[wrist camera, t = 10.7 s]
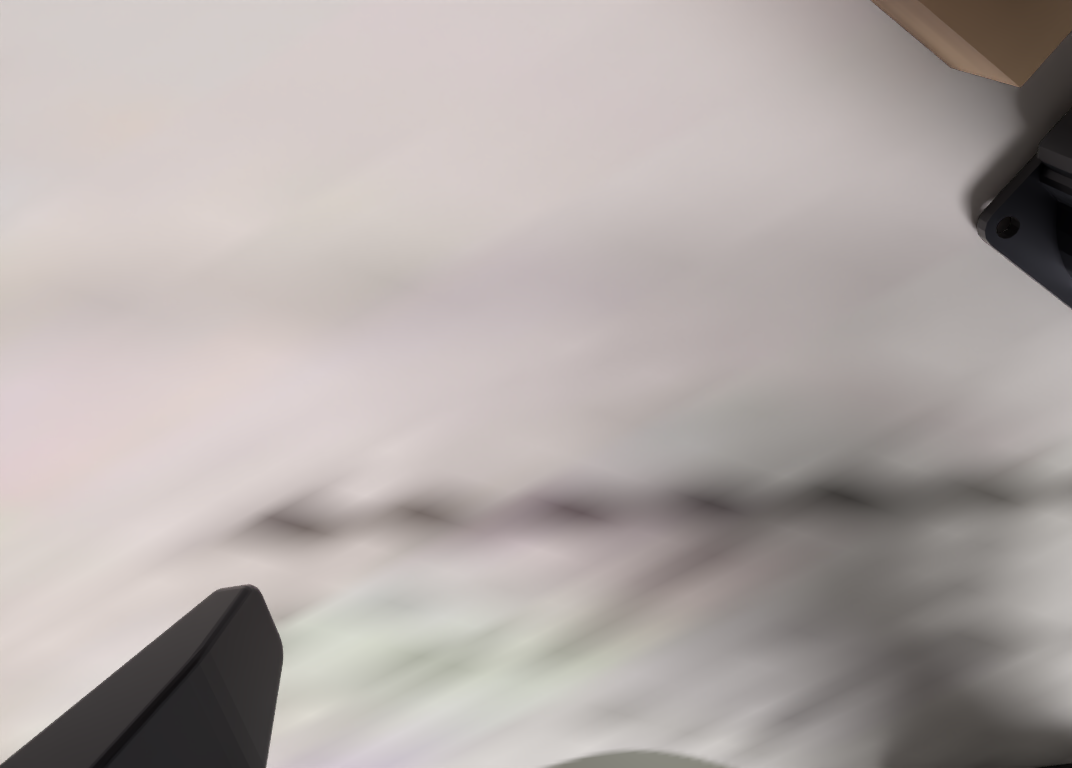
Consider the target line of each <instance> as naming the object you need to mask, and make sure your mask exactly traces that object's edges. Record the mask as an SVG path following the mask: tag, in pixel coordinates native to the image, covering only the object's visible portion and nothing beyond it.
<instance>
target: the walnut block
mask: <svg viewBox="0 0 1072 768" xmlns="http://www.w3.org/2000/svg"><path fill="white" fill-rule="evenodd" d="M871 1H872V2H873V3H874V4H875V5H877V6H878V7H879V8H880V9H881V10H883V11H884V12H885V13H886V14H887V15H889V16H890V17H891V18H892V19H893V20H895V21H896V22H897V23H898V24H899V25H900V26H902V27H903V28H904V29H905V30H906V31H908V32H909V33H910V34H911V35H912V36H914V37H915V38H916V39H917V40H918V41H920V42H921V43H922V44H923V45H924V46H926V47H927V48H928V49H929V50H930V51H932V52H933V53H934V54H935V55H936V56H938V57H939V58H940V59H941V60H942V61H943V62H945V63H946V64H947V65H948V66H949V67H951V68H953V69H957V70H960V71H964V72H967V73H971V74H974V75H978V76H981V77H985V78H988V79H992V80H995V81H999V82H1002V83H1006V84H1009V85H1013V86H1016V87H1020V88H1021V87H1022V86H1023V85H1024V84H1025V82H1026V81H1027V80H1028V79H1029V78H1030V77H1031V76H1032V75H1033V73H1034V72H1035V71H1036V70H1037V69H1038V68H1039V67H1040V66H1041V65H1042V63H1043V62H1044V61H1045V60H1046V59H1047V58H1048V57H1049V56H1050V54H1051V53H1052V52H1053V51H1054V50H1055V49H1056V48H1057V47H1058V45H1059V44H1060V43H1061V42H1062V41H1063V40H1064V39H1065V38H1066V36H1067V35H1068V34H1069V33H1070V32H1071V31H1072V0H871Z"/></svg>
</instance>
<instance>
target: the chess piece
mask: <svg viewBox="0 0 1072 768" xmlns="http://www.w3.org/2000/svg"><path fill="white" fill-rule="evenodd" d="M1040 768H1072V764H1065V765H1057V766H1049V767H1040Z"/></svg>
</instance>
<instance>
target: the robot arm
mask: <svg viewBox="0 0 1072 768" xmlns="http://www.w3.org/2000/svg"><path fill="white" fill-rule="evenodd" d="M1009 216H1011V224H1010V226H1009V227H1008V229H1007V230H1005V231H1004V232H1002V233H996V227H997V225H998V223H999V222H1000V221H1001V220H1002V219H1004V218H1005V217H1009ZM977 230H978V235H979V236H980V237H981V238H982V240H983V241H985V242H986V243H987V244H988V245H990V246H991V247H992V248H994V249H995V250H996V251H997V252H999V253H1000V254H1001V255H1003V256H1004V257H1005V258H1006V259H1008V260H1009V261H1010V262H1012V263H1013V264H1014V265H1015V266H1017V267H1018V268H1019V269H1021V270H1022V271H1023V272H1024V273H1026V274H1027V275H1028V276H1029V277H1031V278H1032V279H1033V280H1035V281H1036V282H1037V283H1038V284H1040V285H1041V286H1042V287H1044V288H1045V289H1046V290H1047V291H1049V292H1050V293H1051V294H1053V295H1054V296H1055V297H1056V298H1058V299H1059V300H1060V301H1062V302H1063V303H1064V304H1065V305H1067V306H1068V307H1069V308H1071V309H1072V108H1071V109H1070V110H1069V111H1068V112H1067V113H1066V115H1065V116H1064V117H1063V118H1062V119H1061V120H1060V121H1059V122H1058V123H1057V124H1056V125H1055V126H1054V128H1053V129H1052V130H1051V131H1050V132H1049V133H1048V134H1047V135H1046V136H1045V137H1044V138H1043V139H1042V140H1041V142H1040V143H1039V147H1038V151H1037V154H1036V155H1035V156H1034V157H1033V158H1032V159H1031V160H1030V161H1029V162H1028V163H1027V165H1026V166H1025V167H1024V168H1023V169H1022V170H1021V171H1020V172H1019V173H1018V174H1017V175H1016V176H1015V177H1014V178H1013V180H1012V181H1011V182H1010V183H1009V184H1008V185H1007V186H1006V187H1005V188H1004V189H1003V190H1002V191H1001V192H1000V194H999V195H998V196H997V197H996V198H995V199H994V200H993V201H992V202H991V203H990V204H989V205H988V206H987V208H986V209H985V210H984V211H983V212H982V214H981V215H980V217H979V219H978V223H977ZM282 665H283V646H282V642H281V638H280V636H279V633H278V631H277V629H276V626H275V624H274V621H273V619H272V617H271V614H270V612H269V610H268V607H267V605H266V603H265V600H264V598H263V596H262V594H261V592H260V590H259V589H258V588H257V587H255V586H253V585H251V584H248V585H241V586H234V587H227V588H221V589H218V590H216V591H215V592H213V593H212V594H211V595H209V596H208V597H207V598H206V599H205V600H203V601H202V602H201V603H200V604H198V605H197V606H196V607H195V608H193V609H192V610H191V611H190V612H188V613H187V614H186V615H185V616H184V617H182V618H181V619H180V620H179V621H177V622H176V623H175V624H174V625H172V626H171V627H170V628H169V629H168V630H166V631H165V632H164V633H163V634H161V635H160V636H159V637H158V638H156V639H155V640H154V641H153V642H151V643H150V644H149V645H148V646H147V647H145V648H144V649H143V650H142V651H140V652H139V653H138V654H137V655H135V656H134V657H133V658H132V659H130V660H129V661H128V662H127V663H126V664H124V665H123V666H122V667H121V668H119V669H118V670H117V671H116V672H114V673H113V674H112V675H111V676H109V677H108V678H107V679H106V680H105V681H103V682H102V683H101V684H100V685H98V686H97V687H96V688H95V689H93V690H92V691H91V692H90V693H89V694H87V695H86V696H85V697H84V698H82V699H81V700H80V701H79V702H77V703H76V704H75V705H74V706H72V707H71V708H70V709H69V710H68V711H66V712H65V713H64V714H63V715H61V716H60V717H59V718H58V719H56V720H55V721H54V722H53V723H51V724H50V725H49V726H48V727H47V728H45V729H44V730H43V731H42V732H40V733H39V734H38V735H37V736H35V737H34V738H33V739H32V740H30V741H29V742H28V743H27V744H26V745H24V746H23V747H22V748H21V749H19V750H18V751H17V752H16V753H14V754H13V755H12V756H11V757H10V758H8V759H7V760H6V761H5V762H3V763H2V764H1V765H0V768H266V765H267V759H268V753H269V746H270V740H271V734H272V728H273V721H274V715H275V709H276V702H277V696H278V690H279V684H280V677H281V671H282Z"/></svg>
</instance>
